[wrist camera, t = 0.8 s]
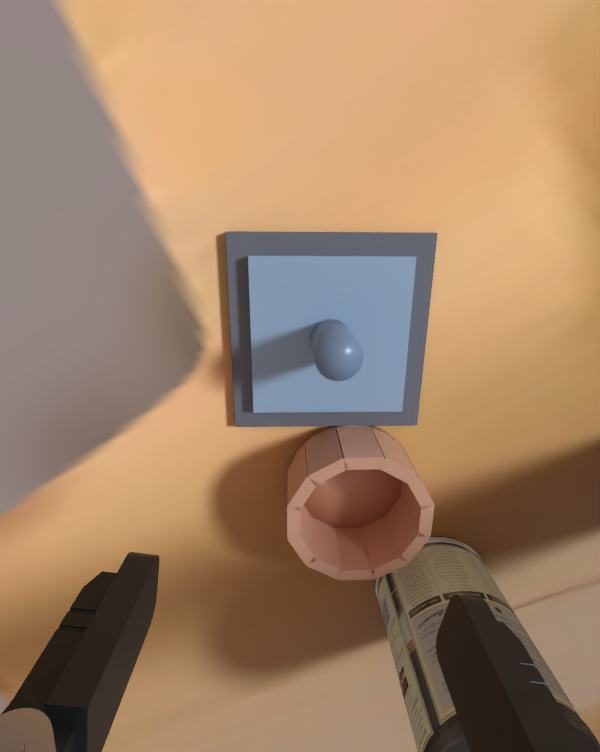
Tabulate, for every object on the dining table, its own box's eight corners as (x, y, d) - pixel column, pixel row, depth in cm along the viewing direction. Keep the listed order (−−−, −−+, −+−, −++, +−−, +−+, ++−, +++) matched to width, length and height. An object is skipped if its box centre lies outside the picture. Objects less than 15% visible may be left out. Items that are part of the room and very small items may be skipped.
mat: (434, 233, 26) (437, 232, 26) (414, 422, 31) (416, 425, 30) (226, 231, 26) (225, 231, 25) (236, 423, 30) (235, 426, 30)
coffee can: (502, 595, 37) (625, 795, 23) (402, 638, 38) (465, 850, 25) (460, 516, 34) (574, 692, 20) (354, 565, 35) (395, 761, 22)
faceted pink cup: (415, 421, 31) (441, 456, 26) (403, 527, 34) (425, 578, 29) (286, 422, 30) (286, 458, 25) (287, 529, 34) (287, 581, 28)
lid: (412, 256, 26) (445, 258, 21) (399, 407, 30) (424, 443, 24) (249, 255, 26) (238, 257, 20) (254, 408, 29) (246, 445, 24)
